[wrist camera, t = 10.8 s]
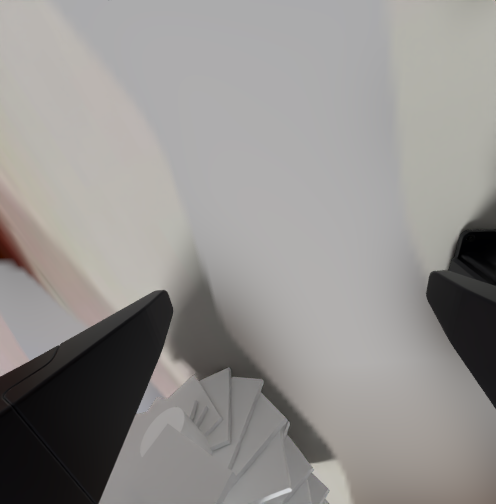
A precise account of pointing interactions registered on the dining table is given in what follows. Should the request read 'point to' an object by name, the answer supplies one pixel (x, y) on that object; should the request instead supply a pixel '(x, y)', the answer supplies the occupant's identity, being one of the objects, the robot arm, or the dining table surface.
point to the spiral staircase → (212, 450)
